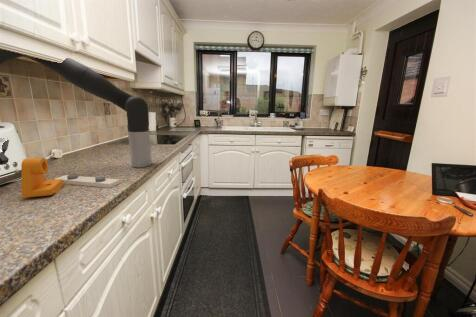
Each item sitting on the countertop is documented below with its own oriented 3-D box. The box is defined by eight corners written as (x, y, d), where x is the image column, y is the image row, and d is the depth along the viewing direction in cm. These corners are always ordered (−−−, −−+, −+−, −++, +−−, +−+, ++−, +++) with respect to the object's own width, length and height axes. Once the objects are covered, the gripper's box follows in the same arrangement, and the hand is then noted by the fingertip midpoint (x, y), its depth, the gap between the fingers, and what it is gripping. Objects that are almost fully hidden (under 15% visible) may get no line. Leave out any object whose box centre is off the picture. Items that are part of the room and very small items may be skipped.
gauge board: (66, 178, 86) (65, 172, 85) (119, 183, 82) (119, 177, 82) (53, 182, 81) (52, 176, 80) (110, 187, 77) (109, 181, 77)
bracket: (52, 197, 69) (45, 161, 66) (23, 200, 66) (14, 163, 63) (64, 185, 78) (59, 154, 76) (39, 188, 76) (33, 155, 73)
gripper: (-60, 118, 64) (-17, 160, 65) (-5, 117, 77) (31, 151, 78) (-68, 135, 66) (-26, 175, 67) (-13, 131, 79) (22, 165, 80)
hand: (5, 163), depth 72 cm, fingers closed
